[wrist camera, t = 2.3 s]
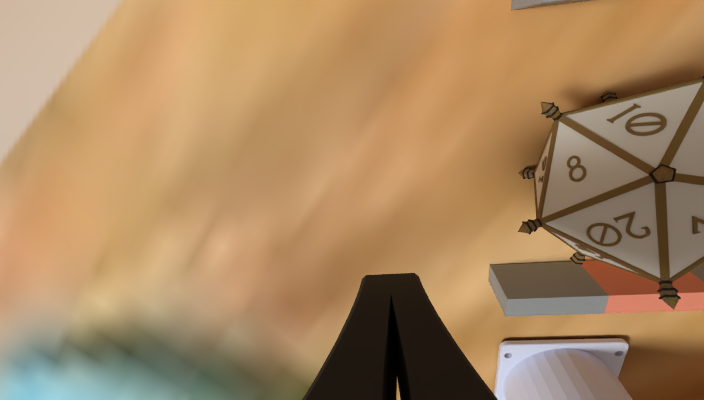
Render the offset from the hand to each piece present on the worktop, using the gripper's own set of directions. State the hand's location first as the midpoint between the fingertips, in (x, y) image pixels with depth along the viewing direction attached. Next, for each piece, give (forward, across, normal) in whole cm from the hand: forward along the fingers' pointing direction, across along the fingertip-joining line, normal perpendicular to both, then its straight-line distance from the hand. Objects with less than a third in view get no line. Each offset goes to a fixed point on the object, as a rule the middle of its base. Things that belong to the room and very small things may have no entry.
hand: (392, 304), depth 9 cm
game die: (+11, -10, 0) cm, 15 cm away
